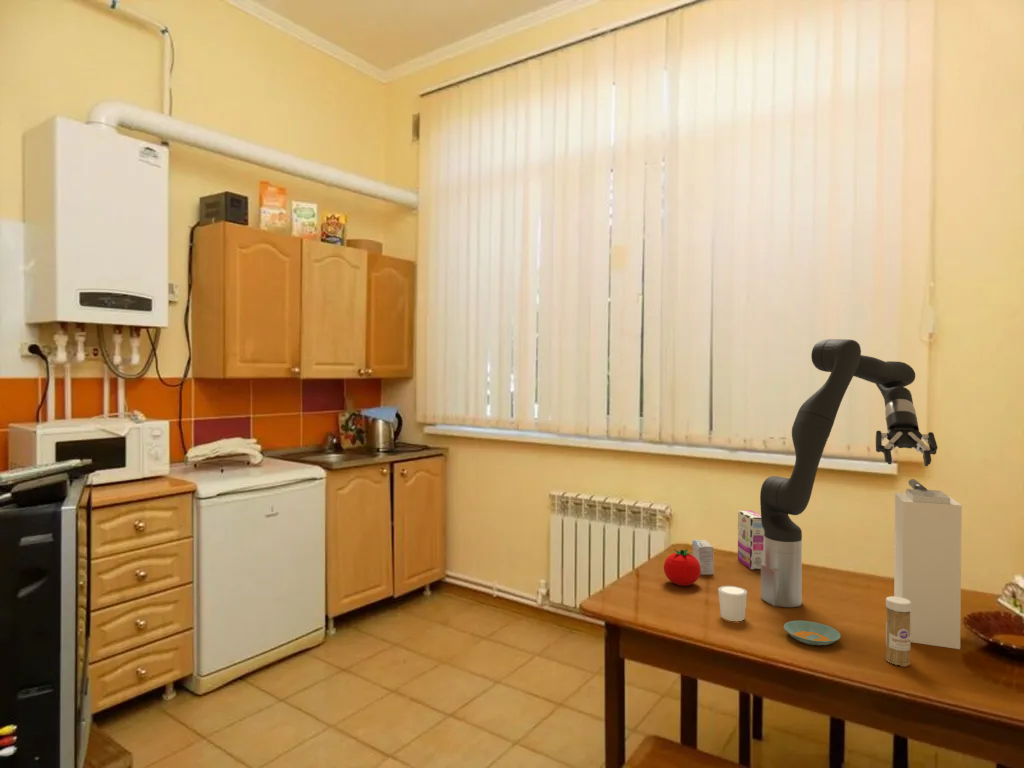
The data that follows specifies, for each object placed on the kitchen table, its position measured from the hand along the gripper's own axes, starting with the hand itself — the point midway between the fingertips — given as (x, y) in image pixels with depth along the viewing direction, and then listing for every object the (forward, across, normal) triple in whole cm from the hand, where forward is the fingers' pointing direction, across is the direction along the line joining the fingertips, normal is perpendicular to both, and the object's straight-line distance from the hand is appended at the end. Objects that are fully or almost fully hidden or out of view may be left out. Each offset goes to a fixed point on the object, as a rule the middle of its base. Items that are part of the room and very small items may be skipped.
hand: (908, 463), depth 167 cm
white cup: (+49, -43, +3) cm, 65 cm away
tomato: (+35, -58, +17) cm, 70 cm away
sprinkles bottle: (+57, -9, -5) cm, 58 cm away
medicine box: (+24, -54, +28) cm, 65 cm away
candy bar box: (+16, -40, +36) cm, 56 cm away
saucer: (+54, -25, -1) cm, 59 cm away
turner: (+18, -1, -11) cm, 21 cm away
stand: (+44, -1, +8) cm, 45 cm away
